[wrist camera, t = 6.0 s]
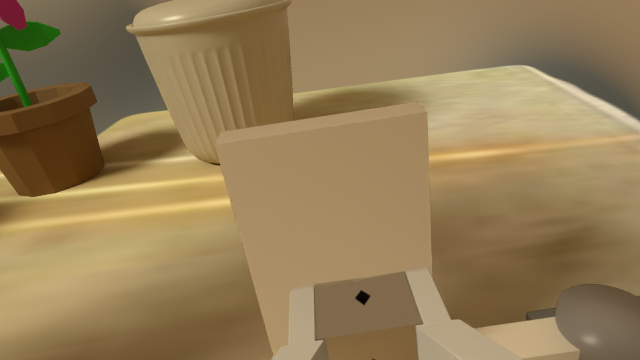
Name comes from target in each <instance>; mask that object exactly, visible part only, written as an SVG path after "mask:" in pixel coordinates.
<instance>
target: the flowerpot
mask: <svg viewBox="0 0 640 360" xmlns="http://www.w3.org/2000/svg"><path fill="white" fill-rule="evenodd" d="M0 19H1V20H2V21H4V22H6V23H7V24H9V25H7V26H5V27H3V28H1V29H0V57H1V59H2V61H3V63H0V82H1V81H2V80H4V79H5V78H7V77H8V76H10V78H11V80H12V82H13V84H14V86H15V88H16V90H17V92H18V93H17V94H13V95H8V96H5V97H2V98H0V170H1V171H2V173H3V174H4V175H5V177H6V178H7V180H8V181H9V182H10V184H11V185H12V186H13V188H14V189H15V190H16V192H17V193H18V194H19V195H22V196H30V197H35V196H40V195H46V194H51V193H56V192H59V191H62V190H65V189H68V188H70V187H73V186H76V185H79V184H81V183H83V182H84V181H86V180H88V179H90V178H92V177H93V176H95V175H97V174H98V173H99V172H100V170H101V169H102V168H103V167H104V162H103V158H102V154H101V150H100V146H99V143H98V139H97V135H96V131H95V127H94V124H93V119H92V116H91V112H90V107H91V106H93V105H94V104H95V103H96V102H97V100H96V97H95V95H94V93H93V90H92V87H91V86H90V85H89V84H87V83H85V82H83V83H66V84H60V85H54V86H48V87H43V88H37V89H33V90H29V91H26V89H25V87H24V85H23V82H22V80H21V78H20V76H19V74H18V72H17V69H16V67H15V65H14V63H13V61H12V59H11V57H10V54H9V52H8V50H7V48H9V49H16V50H25V51H31V50H34V49H37V48H40V47H43V46H46V45H48V44H49V43H50V42H51V41H52V40H54V39H55V38H56V37H57V36H59V35H60V34H61V33H60V30H59V29H56V28H53V27H51V26H48V25H45V24H41V23H39V22H31V21H26V20H25V15H24V10H23V9H22V7H21V6H20V5H19V3H18V2H17V0H0Z"/></svg>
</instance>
